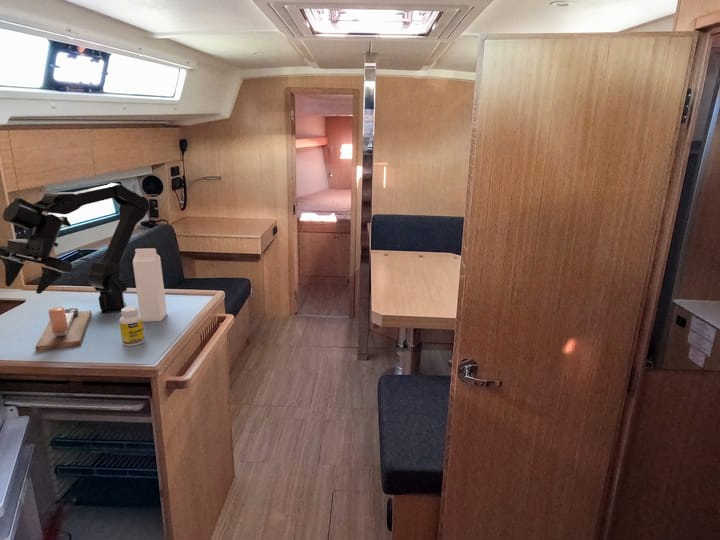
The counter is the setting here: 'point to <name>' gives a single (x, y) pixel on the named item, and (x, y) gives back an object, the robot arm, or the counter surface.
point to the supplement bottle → (131, 326)
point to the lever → (61, 319)
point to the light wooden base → (71, 337)
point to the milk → (149, 284)
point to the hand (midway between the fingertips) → (22, 289)
